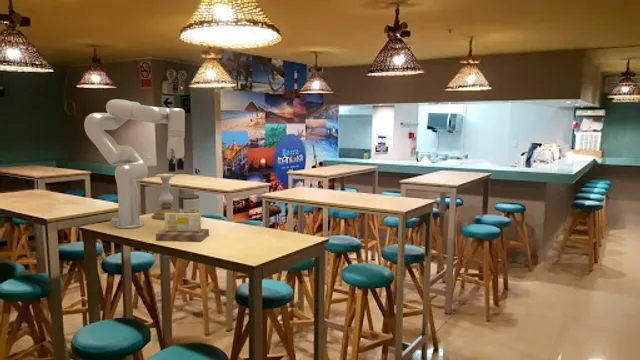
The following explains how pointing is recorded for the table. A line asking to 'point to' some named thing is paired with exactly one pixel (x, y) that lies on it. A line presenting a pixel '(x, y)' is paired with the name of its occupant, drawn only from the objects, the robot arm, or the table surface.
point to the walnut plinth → (182, 235)
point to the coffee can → (189, 203)
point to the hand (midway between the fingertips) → (176, 170)
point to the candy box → (183, 222)
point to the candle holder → (164, 197)
